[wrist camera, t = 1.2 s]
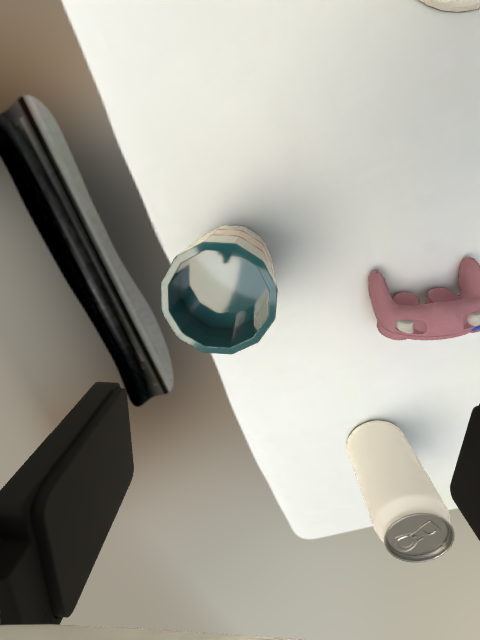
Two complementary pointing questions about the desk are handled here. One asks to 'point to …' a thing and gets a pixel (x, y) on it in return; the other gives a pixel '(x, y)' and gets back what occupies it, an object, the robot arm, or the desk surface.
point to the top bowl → (220, 295)
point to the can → (399, 493)
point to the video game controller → (428, 308)
